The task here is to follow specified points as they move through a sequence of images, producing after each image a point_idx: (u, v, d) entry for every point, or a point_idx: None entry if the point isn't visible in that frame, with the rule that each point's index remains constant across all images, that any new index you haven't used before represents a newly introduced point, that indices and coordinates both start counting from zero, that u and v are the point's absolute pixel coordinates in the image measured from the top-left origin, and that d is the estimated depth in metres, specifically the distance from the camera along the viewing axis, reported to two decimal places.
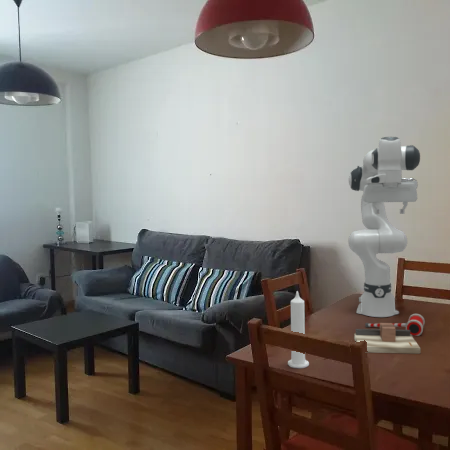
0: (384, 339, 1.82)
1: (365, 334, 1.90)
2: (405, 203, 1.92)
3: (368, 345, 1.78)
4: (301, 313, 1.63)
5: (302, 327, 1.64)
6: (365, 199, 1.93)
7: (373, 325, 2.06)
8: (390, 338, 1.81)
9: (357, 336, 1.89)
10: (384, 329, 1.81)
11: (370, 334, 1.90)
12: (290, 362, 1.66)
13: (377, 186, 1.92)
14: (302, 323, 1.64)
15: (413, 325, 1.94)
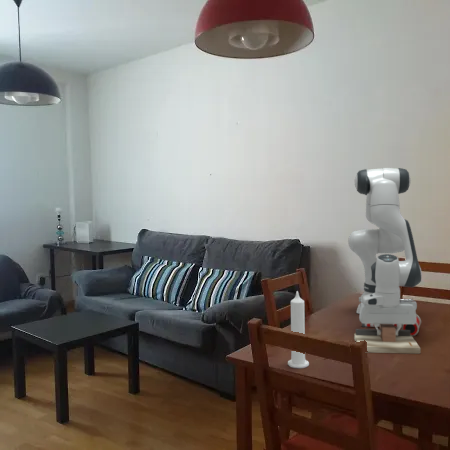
0: (384, 339, 1.82)
1: (365, 334, 1.90)
2: (399, 325, 1.83)
3: (368, 345, 1.78)
4: (301, 313, 1.63)
5: (302, 327, 1.64)
6: (362, 320, 1.84)
7: (370, 325, 2.07)
8: (390, 338, 1.81)
9: (357, 336, 1.89)
10: (384, 329, 1.81)
11: (370, 334, 1.90)
12: (290, 362, 1.66)
13: (374, 307, 1.82)
14: (302, 323, 1.64)
15: (409, 325, 1.95)
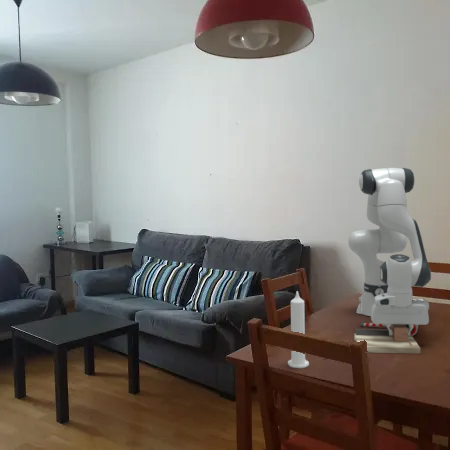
0: (396, 339, 1.81)
1: (365, 334, 1.90)
2: (411, 325, 1.82)
3: (368, 345, 1.78)
4: (301, 313, 1.63)
5: (302, 327, 1.64)
6: (374, 320, 1.84)
7: (368, 325, 2.07)
8: (402, 338, 1.81)
9: (357, 336, 1.89)
10: (396, 329, 1.81)
11: (370, 334, 1.90)
12: (290, 362, 1.66)
13: (386, 308, 1.82)
14: (302, 323, 1.64)
15: (408, 325, 1.95)
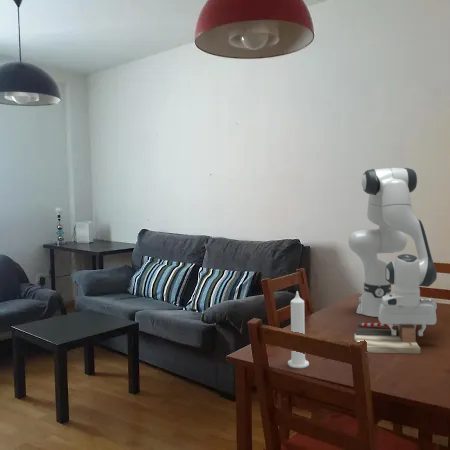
0: (404, 339, 1.81)
1: (365, 334, 1.90)
2: (423, 325, 1.82)
3: (368, 345, 1.78)
4: (301, 313, 1.63)
5: (302, 327, 1.64)
6: (381, 320, 1.83)
7: (366, 325, 2.07)
8: (410, 338, 1.80)
9: (357, 336, 1.89)
10: (404, 329, 1.80)
11: (370, 334, 1.90)
12: (290, 362, 1.66)
13: (394, 308, 1.81)
14: (302, 323, 1.64)
15: None
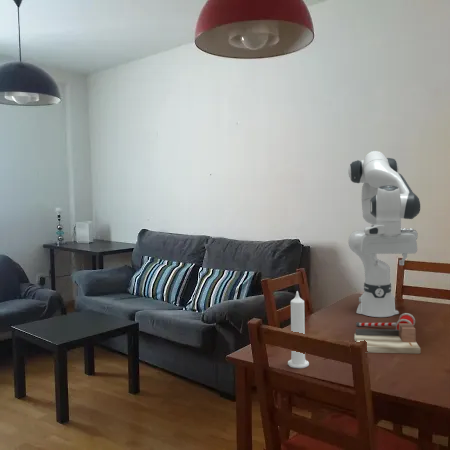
0: (404, 339, 1.81)
1: (365, 334, 1.90)
2: (405, 255, 1.84)
3: (368, 345, 1.78)
4: (301, 313, 1.63)
5: (302, 327, 1.64)
6: (363, 250, 1.86)
7: (364, 324, 2.07)
8: (410, 338, 1.80)
9: (357, 336, 1.89)
10: (404, 329, 1.80)
11: (370, 334, 1.90)
12: (290, 362, 1.66)
13: (375, 237, 1.84)
14: (302, 323, 1.64)
15: None
